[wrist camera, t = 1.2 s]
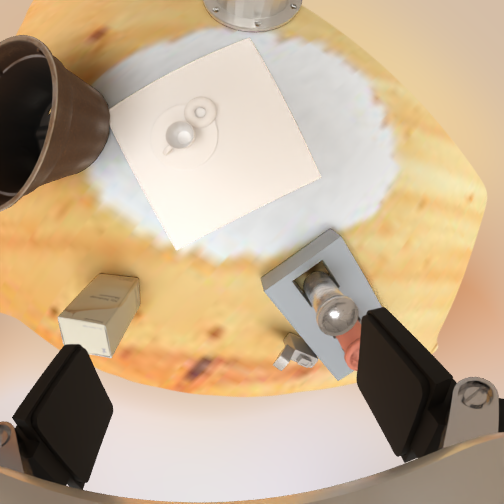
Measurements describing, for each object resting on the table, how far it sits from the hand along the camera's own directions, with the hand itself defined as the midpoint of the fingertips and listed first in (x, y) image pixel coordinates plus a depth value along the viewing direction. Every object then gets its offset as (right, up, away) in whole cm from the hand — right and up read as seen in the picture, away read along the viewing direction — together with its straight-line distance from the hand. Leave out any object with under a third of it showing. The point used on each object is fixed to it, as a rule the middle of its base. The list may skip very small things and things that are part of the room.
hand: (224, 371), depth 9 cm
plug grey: (+9, 0, +26) cm, 28 cm away
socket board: (+12, -4, +32) cm, 34 cm away
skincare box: (-17, -1, +29) cm, 34 cm away
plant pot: (-23, +20, +22) cm, 37 cm away
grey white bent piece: (+6, -9, +33) cm, 35 cm away
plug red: (+12, -5, +28) cm, 31 cm away
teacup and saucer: (-4, +17, +24) cm, 30 cm away
